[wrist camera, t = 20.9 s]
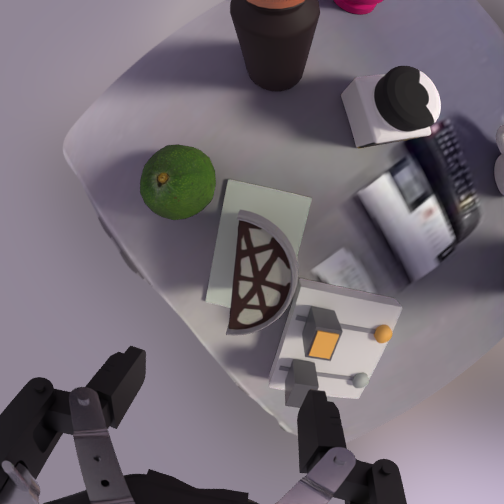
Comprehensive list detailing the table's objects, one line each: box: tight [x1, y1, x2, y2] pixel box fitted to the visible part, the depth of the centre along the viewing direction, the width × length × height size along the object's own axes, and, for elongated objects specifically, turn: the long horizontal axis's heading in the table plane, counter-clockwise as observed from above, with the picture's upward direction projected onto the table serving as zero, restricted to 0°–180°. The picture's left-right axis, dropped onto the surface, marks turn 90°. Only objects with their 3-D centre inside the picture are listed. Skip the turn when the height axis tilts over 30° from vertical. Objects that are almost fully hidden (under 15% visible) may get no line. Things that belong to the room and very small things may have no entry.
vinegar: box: [230, 0, 320, 91], centre depth 20 cm, size 7×7×20 cm
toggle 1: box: [285, 359, 319, 408], centre depth 34 cm, size 3×4×5 cm
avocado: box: [140, 145, 216, 220], centre depth 28 cm, size 8×8×12 cm
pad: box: [205, 179, 312, 319], centre depth 36 cm, size 10×16×1 cm, turn 168°
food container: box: [226, 210, 298, 335], centre depth 30 cm, size 12×6×10 cm, turn 174°
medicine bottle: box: [341, 66, 441, 148], centre depth 24 cm, size 7×7×12 cm
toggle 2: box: [302, 306, 343, 361], centre depth 32 cm, size 3×4×5 cm
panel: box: [269, 278, 403, 399], centre depth 36 cm, size 14×16×4 cm
